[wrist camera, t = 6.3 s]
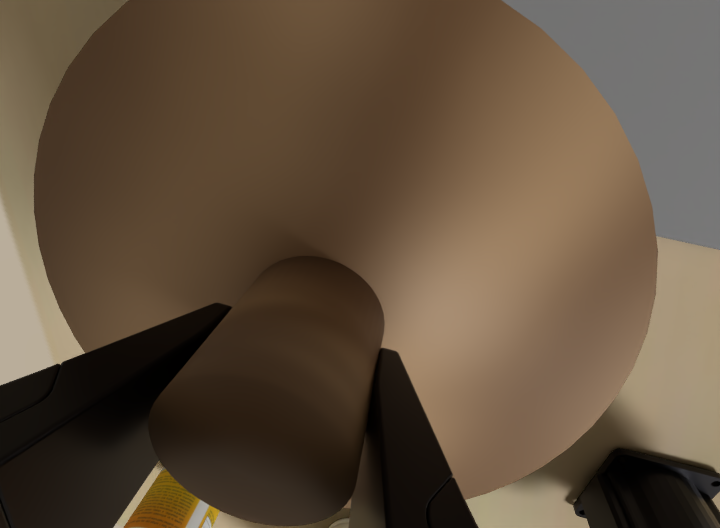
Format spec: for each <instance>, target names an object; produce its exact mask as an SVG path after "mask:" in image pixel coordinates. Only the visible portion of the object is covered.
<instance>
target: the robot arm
mask: <svg viewBox="0 0 720 528" xmlns="http://www.w3.org/2000/svg"><path fill="white" fill-rule="evenodd" d="M232 308H233V307H232V306H229V305H226V304H222V303H213V304H210V305H208V306H205V307H203V308H200V309H197V310H195V311H192V312H190V313H187V314H185V315H182V316H179V317H177V318H174V319H172V320H169V321H167V322H164V323H162V324H159V325H156V326H154V327H151V328H149V329H146V330H144V331H141V332H138V333H136V334H133V335H131V336H128V337H126V338H123V339H120V340H118V341H115V342H113V343H110V344H108V345H105V346H103V347H100V348H97V349H95V350H92V351H90V352H87V353H85V354H82V355H79V356H77V357H74V358H72V359H69V360H67V361H64V362H62V363H61V365H60V364H56V365H53V366H51V367H48V368H46V369H43V370H41V371H38V372H35V373H33V374H30V375H27V376H25V377H22V378H19V379H17V380H14V381H11V382H9V383H6V384H3V385H1V386H0V528H113V527H114V525H115V524H116V523H117V521H118V520H119V518H120V517H121V515H122V514H123V512H124V511H125V509H126V508H127V506H128V505H129V503H130V502H131V500H132V499H133V498H134V496H135V495H136V493H137V492H138V490H139V489H140V487H141V486H142V484H143V483H144V481H145V480H146V478H147V477H148V476H149V474H150V473H151V471H152V470H153V468H154V467H155V465H156V464H157V462H158V461H159V459H158V457H157V455H156V453H155V451H154V449H153V446H152V443H151V440H150V436H149V430H148V420H149V415H150V411H151V408H152V406H153V404H154V402H155V401H156V399H157V398H158V397H159V395H160V394H161V393H162V392H163V390H164V389H165V388H166V387H167V386H168V384H169V383H170V382H171V381H172V380H173V378H174V377H175V376H176V375H177V374H178V372H179V371H180V370H181V369H182V368H183V366H184V365H185V364H186V363H187V362H188V360H189V359H190V358H191V357H192V356H193V354H194V353H195V352H196V351H197V350H198V348H199V347H200V346H201V345H202V344H203V342H204V341H205V340H206V339H207V338H208V336H209V335H210V334H211V333H212V332H213V330H214V329H215V328H216V327H217V326H218V324H219V323H220V322H221V321H222V320H223V318H224V317H225V316H226V315H227V314H228V312H229V311H230V310H231V309H232ZM719 491H720V474H719V473H716V472H712V471H708V470H705V469H701V468H697V467H693V466H689V465H685V464H681V463H677V462H673V461H669V460H665V459H661V458H657V457H653V456H649V455H645V454H642V453H638V452H634V451H630V450H626V449H616V450H614V451H613V452H612V453H611V454H610V455H609V457H608V458H607V459H606V461H605V462H604V464H603V465H602V466H601V468H600V469H599V471H598V472H597V473H596V475H595V476H594V477H593V479H592V480H591V482H590V483H589V484H588V486H587V487H586V489H585V490H584V491H583V493H582V494H581V495H580V497H579V498H578V500H577V501H576V502H575V504H574V506H573V507H574V510H575V514H576V515H577V516H579V517H583V518H587V521H588V524H589V527H590V528H720V512H719V510H718V508H717V507H716V505H715V504H714V502H713V501H712V499H713V498H714V497H715V495H716V494H717V493H718V492H719ZM349 528H478V526H477V524H476V522H475V520H474V518H473V516H472V514H471V512H470V510H469V508H468V505H467V503H466V501H465V499H464V497H463V495H462V493H461V491H460V488H459V486H458V484H457V482H456V479H455V478H454V477H453V473H452V471H451V469H450V466H449V464H448V462H447V460H446V457H445V455H444V453H443V451H442V449H441V446H440V444H439V442H438V440H437V437H436V435H435V433H434V431H433V428H432V426H431V424H430V422H429V420H428V417H427V415H426V413H425V411H424V408H423V406H422V404H421V402H420V400H419V397H418V395H417V393H416V391H415V388H414V386H413V384H412V382H411V380H410V377H409V375H408V373H407V371H406V368H405V366H404V364H403V362H402V360H401V357H400V355H399V353H398V352H397V351H394V350H391V349H387V348H381V349H380V352H379V357H378V363H377V368H376V373H375V379H374V384H373V390H372V396H371V404H370V411H369V416H368V422H367V427H366V433H365V438H364V444H363V449H362V455H361V460H360V465H359V471H358V476H357V482H356V486H355V490H354V492H353V495H352V497H351V507H350V518H349Z"/></svg>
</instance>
